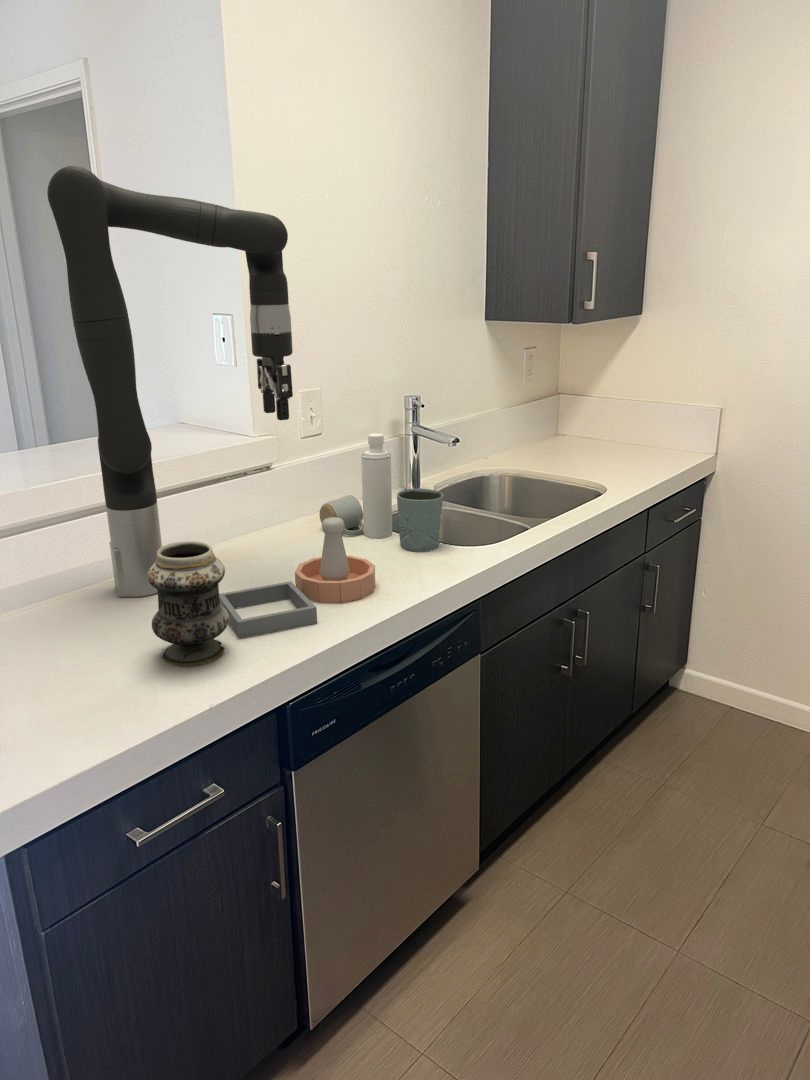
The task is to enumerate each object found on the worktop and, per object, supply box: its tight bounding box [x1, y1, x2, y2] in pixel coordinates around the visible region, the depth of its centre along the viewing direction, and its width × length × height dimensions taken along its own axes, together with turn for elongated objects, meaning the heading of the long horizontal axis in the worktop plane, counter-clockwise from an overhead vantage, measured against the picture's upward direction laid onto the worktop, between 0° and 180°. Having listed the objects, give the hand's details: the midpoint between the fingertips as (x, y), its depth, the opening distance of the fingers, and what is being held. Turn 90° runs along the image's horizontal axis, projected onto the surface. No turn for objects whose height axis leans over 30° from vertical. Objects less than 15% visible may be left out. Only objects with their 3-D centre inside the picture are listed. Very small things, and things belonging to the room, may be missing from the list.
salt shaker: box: [320, 517, 350, 581], centre depth 158 cm, size 6×6×13 cm
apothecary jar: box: [148, 540, 229, 668], centre depth 131 cm, size 12×12×18 cm
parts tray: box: [219, 580, 318, 639], centre depth 148 cm, size 14×14×3 cm
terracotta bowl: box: [294, 555, 376, 604], centre depth 160 cm, size 15×15×4 cm
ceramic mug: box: [319, 494, 364, 537], centre depth 194 cm, size 11×8×8 cm
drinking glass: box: [396, 488, 444, 553], centre depth 182 cm, size 10×10×12 cm
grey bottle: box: [361, 432, 393, 539], centre depth 188 cm, size 7×7×25 cm
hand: (276, 416), depth 159 cm, fingers open, 8 cm apart
